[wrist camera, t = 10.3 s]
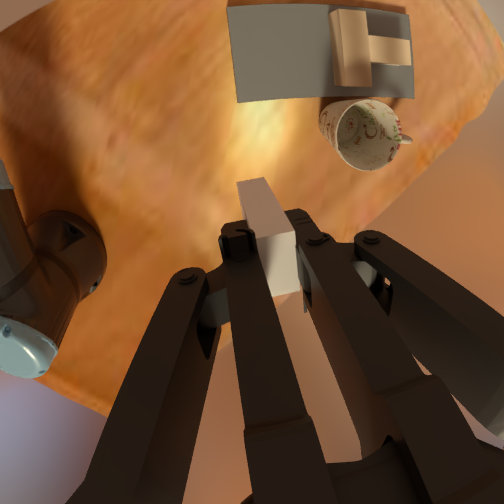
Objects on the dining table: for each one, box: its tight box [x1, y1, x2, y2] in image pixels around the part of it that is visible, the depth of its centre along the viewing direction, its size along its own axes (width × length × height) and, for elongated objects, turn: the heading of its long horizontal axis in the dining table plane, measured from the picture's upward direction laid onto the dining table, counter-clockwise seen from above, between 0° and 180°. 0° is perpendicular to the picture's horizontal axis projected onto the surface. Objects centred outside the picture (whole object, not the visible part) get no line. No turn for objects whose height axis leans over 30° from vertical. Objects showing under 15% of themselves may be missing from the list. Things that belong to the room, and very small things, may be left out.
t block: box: [328, 9, 411, 87], centre depth 32 cm, size 10×10×4 cm
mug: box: [319, 99, 413, 171], centre depth 36 cm, size 8×13×10 cm, turn 89°
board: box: [226, 4, 414, 103], centre depth 34 cm, size 25×13×2 cm, turn 96°
